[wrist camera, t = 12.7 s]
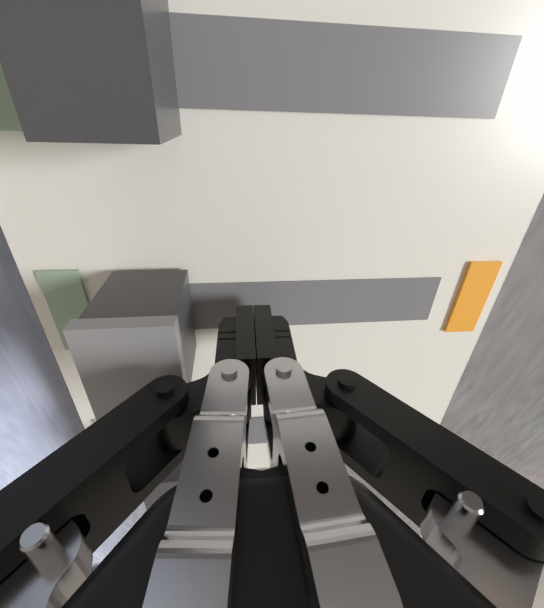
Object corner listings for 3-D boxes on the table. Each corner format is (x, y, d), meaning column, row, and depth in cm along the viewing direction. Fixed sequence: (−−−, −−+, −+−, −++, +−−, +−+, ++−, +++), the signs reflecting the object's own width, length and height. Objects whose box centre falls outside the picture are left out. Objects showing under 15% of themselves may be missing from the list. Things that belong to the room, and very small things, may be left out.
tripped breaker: (189, 267, 13) (174, 326, 10) (198, 346, 15) (189, 419, 12) (109, 269, 13) (62, 330, 9) (130, 349, 15) (98, 425, 11)
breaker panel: (585, -42, 12) (900, -178, 6) (410, 424, 25) (460, 512, 20) (-75, -107, 9) (-515, -423, 4) (118, 447, 23) (82, 555, 17)
